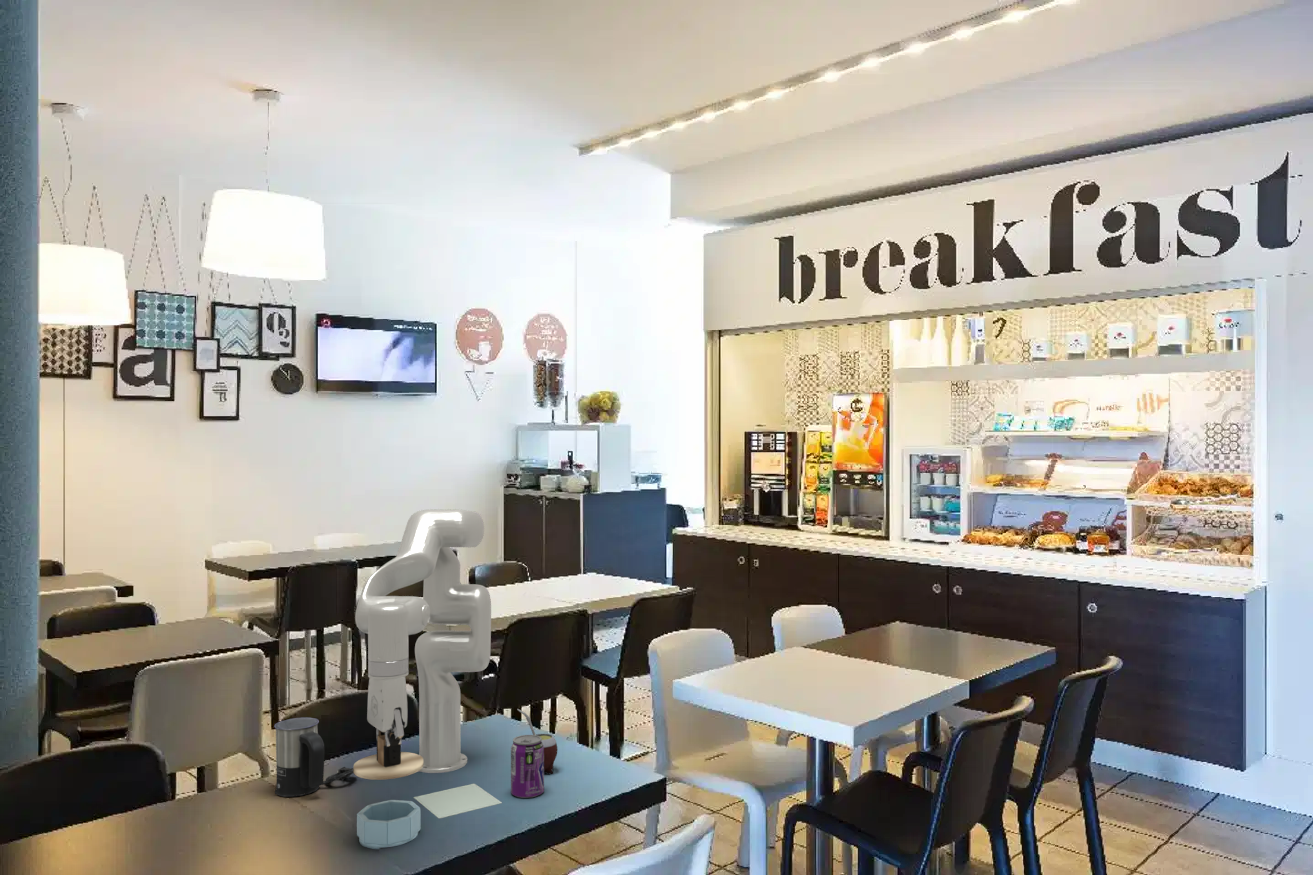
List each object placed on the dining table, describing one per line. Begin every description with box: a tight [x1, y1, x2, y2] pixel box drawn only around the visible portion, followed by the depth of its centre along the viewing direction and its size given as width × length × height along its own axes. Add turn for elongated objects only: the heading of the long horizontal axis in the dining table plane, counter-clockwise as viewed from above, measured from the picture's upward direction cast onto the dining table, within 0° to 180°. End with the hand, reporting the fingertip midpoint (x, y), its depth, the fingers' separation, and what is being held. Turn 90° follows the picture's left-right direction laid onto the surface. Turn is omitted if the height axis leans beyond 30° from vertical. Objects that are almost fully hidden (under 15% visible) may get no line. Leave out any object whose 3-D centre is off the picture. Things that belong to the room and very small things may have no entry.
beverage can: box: [510, 734, 545, 799], centre depth 204 cm, size 7×7×12 cm
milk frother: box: [273, 717, 354, 798], centre depth 209 cm, size 14×16×15 cm
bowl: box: [356, 799, 422, 850], centre depth 182 cm, size 11×11×5 cm
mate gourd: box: [516, 708, 558, 775], centre depth 218 cm, size 8×8×15 cm
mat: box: [413, 783, 503, 820], centre depth 200 cm, size 14×14×1 cm
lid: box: [353, 732, 423, 781], centre depth 182 cm, size 13×13×6 cm
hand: (388, 761), depth 182 cm, fingers closed on lid, 3 cm apart
